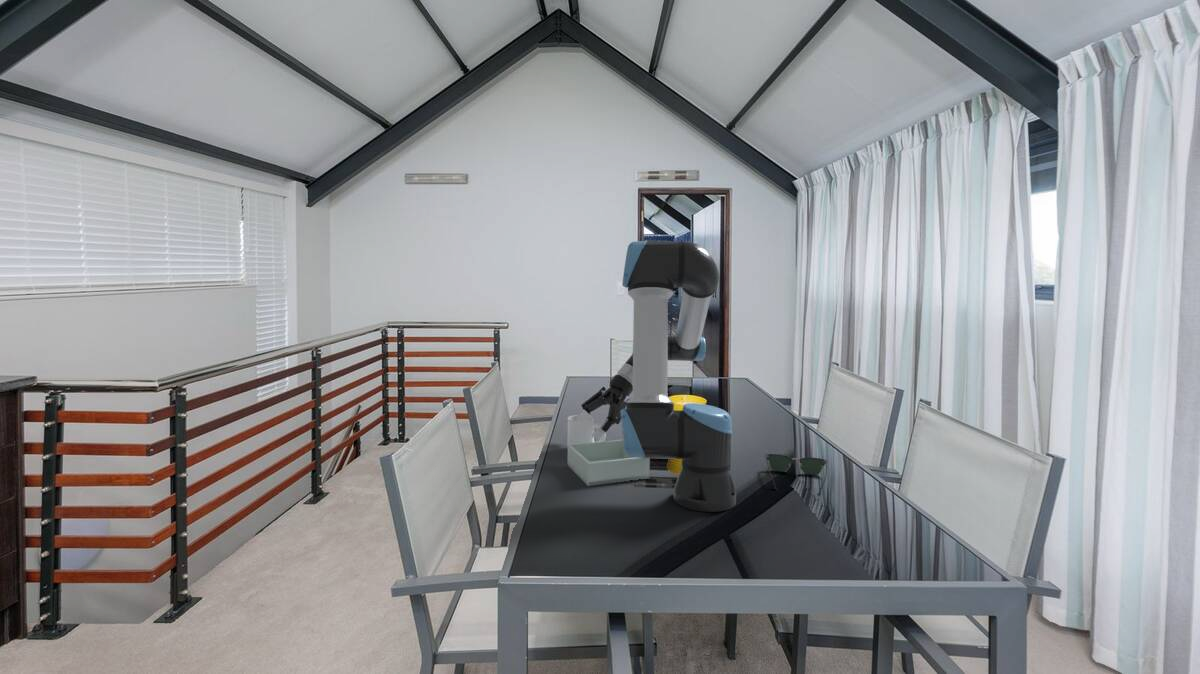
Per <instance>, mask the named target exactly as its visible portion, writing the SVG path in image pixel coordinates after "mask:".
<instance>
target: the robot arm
mask: <svg viewBox="0 0 1200 674" xmlns="http://www.w3.org/2000/svg"><path fill="white" fill-rule="evenodd" d="M717 266H718V265H717V264H716V261H715V260H714V258H713V257H712V255H711V254H710V252H709V251H707V250H706V249H705V248H704V247H703V246H701V245H700V244H698V243H696V242H695V243H694V242H693V241H687V240H682V241H671V240H668V241H667V240H648V239H646V240H639V241H632V242H630V243H629V245H628V246H627V249H626V255H625V261H624V268H623V277H622V287H624V288H627V294H628V296H630V299H632V300H633V328H632V329H633V330H632V331H633V332H632V334H633V336H632V337H633V338H632V342H633V343H632V353H631V355H630V356H629V357H628V359H627V360H626V361H625V363H624V364H623V365H622V366H621V367H620V369H619V370H618V371H617V374H615V375H614V376H613V377H612V379H610V381H609V388H606V387H605V386H602V387H601V388H600V389H599V390H598V391H597V392H596V393H594V394H593V395H592V396H590V398H588V399H587V400H585V402H583V403H582V404H581V408H582V410H581V411H580V412H579V413H578V415H588V416H591V415H590V414H591V413H592V412H594V411H596V410H597V409H598V408H600V407H602V406H607V405H608V406H609V408H608V409H609V410H608V413H607V414H608V415H607V416H606V417H605V418H604V419H603V421H602V422H601V423H600V426H599V427H598V428H596V430H594V433H593V435H592V436H593V437H594V440H596V442H598V441H600V439H601V438H602V436H603V435H604V434H605V433H607V432H608V430H609V429H610V428H611V427H612V426H613V425H615V424H616V425H619V424H620V423H621V429H622V430H621V431H622V438H623V440H624V448H625V452H626V454H627V455H628V456H630V457H636V458H643V459H646V458H650V459H665V460H666V459H667V460H669V459H672V460H673V459H674V460H675V459H676V460H681V468H680V471H679V473H678V476H677V479H676V482H675V485H674V487H673V500H674V502H675V503H676V504H677V505H678V506H681V507H683V508H686V509H688V510H692V511H698V512H706V513H713V512H714V513H716V512H724V511H728V510H730V509H732V508H734V507H735V506H736V505H737V504H736V503H737V492H736V487H735V485H734V482H733V477H732V474H731V450H732V449H731V447H732V446H731V445H732V434H733V429H732V417H731V415H730V413H729V412H727V411H726V409H725V410H724V409H722V408H719V407H718V406H715V405H710V404H709V405H708V404H703V403H697V402H696V403H695V402H692V403H685V404H684V405H683V406H682V408H681V409H682V410H679V409H678V410H674V409H675V407H674V406H675V402H674V401H673V400H672V399H671V398H670V397H669V396H668V394H669V393H668V389H669V387H668V376H669V375H668V367H669V365H668V362H669V361H684V362H685V361H686V362H688V361H689V362H697V361H703V360H705V357H706V351H707V344H706V339H705V337H704V336H703V331H704V328H705V324H706V320H707V315H708V312H709V311H708V310H709V306H710V304H711V299H712V298H711V297H712V296H713V295H714V294H716V291H717V290H718V287H719V281H720V279H719V278H720V273H719V270H718V267H717ZM676 288H681V290H682V297H681V302H680V303H681V304H680V308H679V310H680V311H679V317H678V321H677V327H676V333H675V334H676V335H675V336H674V335H669V331H668V329H669V328H668V325H669V324H668V322H669V321H668V320H669V319H668V318H669V315H668V314H669V312H668V310H669V309H668V308H669V307H668V306H669V300H670V299H671V298H672V297H673V296H674V294H675V289H676ZM631 394H632V395H631ZM630 395H631V397H629V396H630Z"/></svg>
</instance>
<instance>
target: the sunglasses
mask: <svg viewBox="0 0 1200 674" xmlns="http://www.w3.org/2000/svg"><path fill="white" fill-rule="evenodd" d="M765 460H766V464H767V467H768V468H767V469H768V471H769V475H770V477H771V480H772V482H773V486H774V490H776V491H778V488H777V486H776V483H775V480H774V478H773V476H772V473H771V470H772V471H773V472H784V473H786V472H788V470H789V469H791V466H792V465H791V462H792V461H793V460H795V461H799V463H800V467H799V468H800V470H801V472H803V474H804V475H813V476H818V475H819V474H821V472H822V470H823V467H824V466H825V475H824V479H823V482H822V485H821V488H820V489H819V492H818V493H817V496H819V495H820V494H821V491H822V490H823V487H824V485H825V482H826V479H827V474H828V473H827V472H828V459H826V458H825V459H824V458H820V457H802V458H797V457H793V458H792V457H791V456H787V455H784V454H779V453H766V454H765Z"/></svg>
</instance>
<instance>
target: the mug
mask: <svg viewBox="0 0 1200 674" xmlns="http://www.w3.org/2000/svg"><path fill="white" fill-rule="evenodd" d="M600 425H601V423H598V422H595V417H594V416H592V415H589V416H588V415H579V414H576V415H575V414H574V415H569V416H567V439H566V441H567V442H566V443H567V444H566V445H567V447H566V448H568V445H571V444H581V443H591V442H595V438H594V437H593V436H592V435H593V433H594V432H595V429H597V428H598V427H599V426H600ZM606 433H607V432H606ZM606 433H605V434H604V435H603V436H602V438H601V439H600V440H599V441H597V442H602V441H606V438H607V437H606V436H607V434H606Z"/></svg>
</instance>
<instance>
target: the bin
mask: <svg viewBox="0 0 1200 674" xmlns="http://www.w3.org/2000/svg"><path fill="white" fill-rule="evenodd" d="M566 463H567V466H568V468H570V469H571V470H572V471H573V473H575V474H576V475H577V476H578V477H579V478H580V479H581V480H582V481H583V483H585V485H586V486H588V487H591V486H600V485H607V484H616V482H617V483H622V482H624V481H625V482H631V481H630V480H633V481H640V480H639V479H641V480H647V479H650V468H651V467H650V464H651V458H646V459H643V458H636V457H630V456H628V455H627V454H626V452H625V448H624V440H623V439H615V440H605V441H602V442H598V441H594V442H591V443H581V444H571V445H568V447H567V462H566Z"/></svg>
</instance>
